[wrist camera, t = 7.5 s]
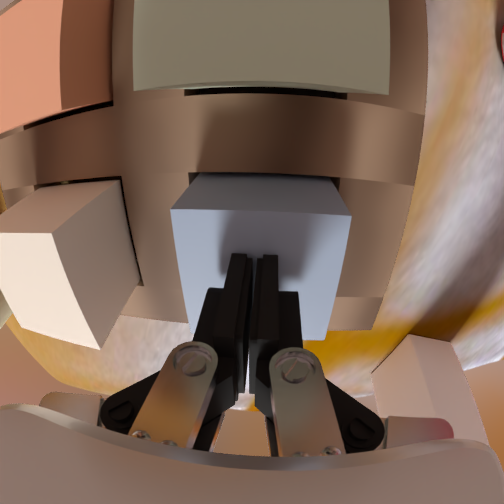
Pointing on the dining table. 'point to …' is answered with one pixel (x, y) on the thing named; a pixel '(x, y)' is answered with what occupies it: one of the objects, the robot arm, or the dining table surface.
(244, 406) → the dining table surface
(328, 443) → the robot arm
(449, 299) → the dining table surface
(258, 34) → the sage block
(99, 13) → the terracotta block
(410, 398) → the milk
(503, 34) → the soda can
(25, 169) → the walnut frame
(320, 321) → the slate-blue block
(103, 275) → the cream block
